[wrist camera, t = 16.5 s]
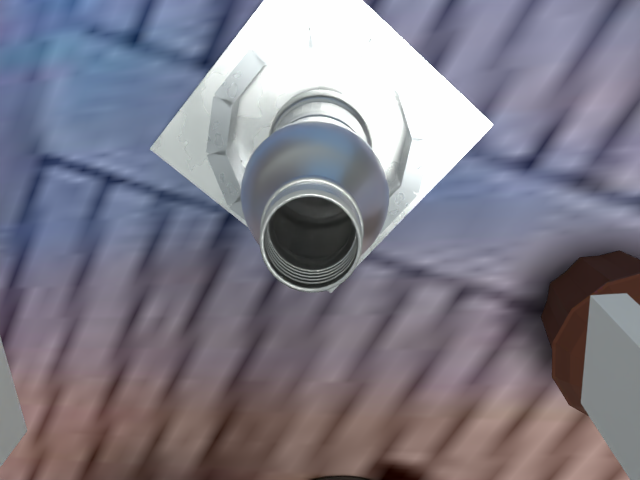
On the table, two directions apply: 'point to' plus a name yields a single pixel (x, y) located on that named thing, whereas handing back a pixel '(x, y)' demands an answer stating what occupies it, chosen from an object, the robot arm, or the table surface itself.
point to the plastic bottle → (315, 191)
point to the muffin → (582, 313)
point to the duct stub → (322, 74)
